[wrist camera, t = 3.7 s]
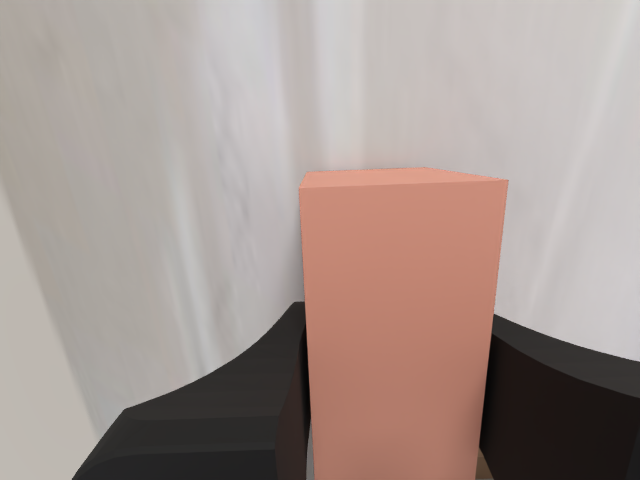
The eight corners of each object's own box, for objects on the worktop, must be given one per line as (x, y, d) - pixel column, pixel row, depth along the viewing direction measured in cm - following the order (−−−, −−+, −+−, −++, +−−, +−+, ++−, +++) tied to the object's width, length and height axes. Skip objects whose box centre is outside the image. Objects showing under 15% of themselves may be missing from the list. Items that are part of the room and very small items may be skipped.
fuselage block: (425, 167, 11) (508, 180, 6) (414, 412, 14) (466, 554, 9) (306, 171, 11) (299, 188, 6) (318, 415, 14) (319, 559, 9)
